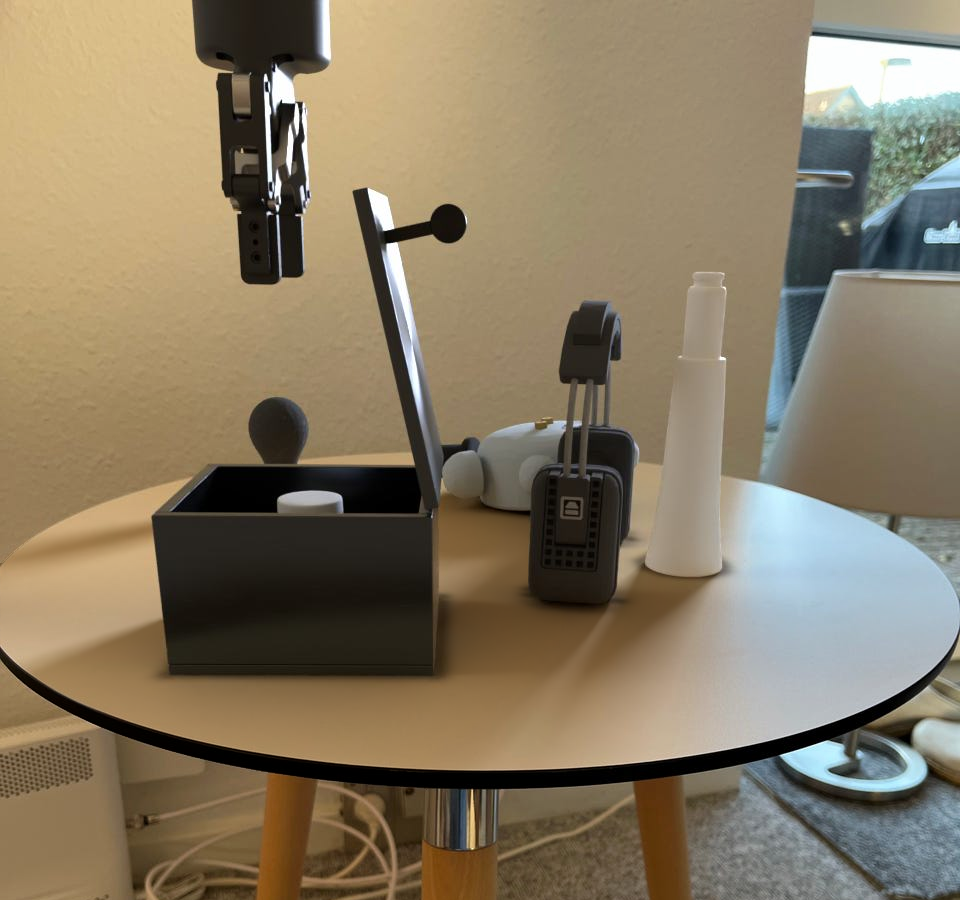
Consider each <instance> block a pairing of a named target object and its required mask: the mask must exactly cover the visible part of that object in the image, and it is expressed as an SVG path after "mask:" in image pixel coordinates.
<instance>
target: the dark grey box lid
mask: <svg viewBox="0 0 960 900" xmlns="http://www.w3.org/2000/svg"><path fill="white" fill-rule="evenodd" d="M352 197H353V202H354V205H355V206H354V207H355V210H356V215H357V218H358V223H359V227H360V232H361V236H362V240H363V241H362V242H363V245H364V250H365V254H366V258H367V262H368V267H369V272H370V275H371V280H372V285H373V288H374V293H375V298H376V302H377V307H378V311H379V315H380V319H381V324H382V327H383V332H384V336H385V341H386V345H387V348H388V349H387V351H388V354H389V359H390V363H391V367H392V372H393V376H394V381H395V386H396V390H397V393H398V398H399V402H400V407H401V411H402V415H403V419H404V420H403V421H404V424H405V428H406V433H407V437H408V442H409V446H410V450H411V454H412V459H413V465H415V468H416V473H417V477H418V481H419V486H420V490H421V494H422V499H423V503H424V507H425V510H430V509H435V508H438V509H439V507H440V498H441V491H442V490H441V489H442V480H443V478H442V469H443V458H444V455H443V451H442V446H441V445H442V441H441V438H440V433H439V428H438V424H437V419H436V414H435V409H434V405H433V400H432V396H431V392H430V391H431V390H430V388H429V382H428V377H427V373H426V369H425V364H424V358H423V354H422V349H421V344H420V340H419V336H418V331H417V327H416V323H415V318H414V313H413V308H412V304H411V299H410V296H409V290H408V285H407V281H406V276H405V271H404V268H403V263H402V257H401V254H400V249H399V245H398V243H401V242H404V241H409V240H414V239H419V238H424V237H428V236H433V237H434V238H435V239H436V240H437V241H439V242H440V243H442V244H448V245H449V244H454V243H456V242H459V241H460V240H461V239H462V238H463V236H464V235H465V234H466V231H467V227H468V220H467V216H466V214H465V212H464V211H463V210H462V209H461V208H460V206H457V205H456V204H453V203H443V204H441V205H439V206H437V207H436V208H435V209H434V210H433V211H432V213H431V215H430V217H429V218H430V219H429V220H426V221H421V222H418V223H413V224H407V225H404V226H400V227H395V225H394V220H393V217H392V211H391V207H390V202H389V198H388V196H387V195H385V194H383V193H381V192H379V191H377V190H374V189H371V188H369V187H366V186H365V187H362V188H357V189H353V190H352Z"/></svg>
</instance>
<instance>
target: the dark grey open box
mask: <svg viewBox="0 0 960 900" xmlns="http://www.w3.org/2000/svg"><path fill="white" fill-rule="evenodd" d="M301 491H327V492H333V493H337V494H339V495H340V496H341V497H342V502H343V512H344V513H278V507H277V500H278V498H279V497H280V496H282V495H285V494H289V493H293V492H301ZM150 518H151V526H152V527H151V529H152V535H153V536H152V537H153V545H154V553H155V563H156V571H157V578H158V588H159V596H160V605H161V615H162V622H163V630H164V631H163V632H164V640H165V649H166V657H167V664H168V665H167V667H168V674H169V676H316V677H317V676H321V677H324V676H325V677H326V676H330V677H332V676H335V677H337V676H338V677H339V676H340V677H343V676H345V677H346V676H347V677H348V676H349V677H350V676H351V677H352V676H353V677H354V676H355V677H359V676H360V677H366V676H367V677H368V676H369V677H384V676H385V677H402V676H403V677H433V676H434V674H435V663H436V662H435V660H436V648H437V647H436V646H437V634H438V633H437V632H438V617H439V606H440V605H439V604H440V556H439V554H440V536H439V535H440V534H439V533H440V530H439V529H440V528H439V527H440V524H439V507H438V508H435V509H430V510H425V507H424V503H423V499H422V494H421V490H420V486H419V481H418V477H417V473H416V468H415V464H351V463H350V464H347V463H346V464H343V463H342V464H341V463H338V464H337V463H336V464H333V463H331V464H330V463H329V464H328V463H327V464H326V463H323V464H322V463H321V464H320V463H319V464H318V463H308V464H307V463H297V464H264V463H207V464H206V465H205V466H204V467H203V468H202V469H200V471H198V473H196V474H195V475H193V477H192V478H191V479H190V480H188V481H187V482H186V483H185V484H184V485H183V486H182V487H181V488H180V489H178V491H176V492H175V493H174V494H173V495H172V496H171V497H170V498H169V499H168V500H166V501H165V502H164V503H163V504H162V505H161V506H160V507H159V508H158V509H157V510H156V511H154V513H152V515H151V517H150Z"/></svg>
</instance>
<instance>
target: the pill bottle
mask: <svg viewBox="0 0 960 900" xmlns="http://www.w3.org/2000/svg"><path fill="white" fill-rule="evenodd" d="M277 507H278V513H344V512H343V502H342V497H341V496H340V495H339V494H337V493H333V492H327V491H301V492H293V493H289V494H285V495H282V496H280V497H279V498H278V500H277Z"/></svg>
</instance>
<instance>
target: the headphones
mask: <svg viewBox="0 0 960 900" xmlns="http://www.w3.org/2000/svg"><path fill="white" fill-rule="evenodd" d="M622 328H623V327H622V317H621V314H620V312H619V311H614V309H613V304H612V302H611V301H610V300H583V301H582V302H581V304H580V306H579V308H578V310H573V311H572V312H571V314H570V317H569V319H568V321H567V325H566V329H565V333H564V339H563V343H562V347H561V353H560V360H559V367H558V377H559V382H560V383H561V384H564V385H569V393H568V401H567V402H568V403H567V412H566V420H565V421H566V431H565V432H564V433H563V435H562V437H561V438H560V441H559V445H558V456H557V464H549V465H545V466H543V467H542V468H540V470H539V471H538V472H537V474H536V476H535V478H534V479H533V484H532V488H531V510H530V516H529V517H530V520H529V542H528V543H529V544H528V565H527V566H528V569H527V584H528V590H529V593H530V594H531V596H532V597H534V598H536V599H538V600H543V601H549V602H561V603H574V604H587V605H598V604H605V603H606V602H608V601H609V600H611V599H612V598H613V597H614V596H615V594H616V590H617V587H618V576H619V575H618V574H619V563H620V562H619V561H620V544H621V542H624V540H626V538H627V537H628V535H629V533H630V530H631V516H632V500H633V487H634V486H633V485H634V474H635V473H634V472H635V467H634V459H635V444H634V442H635V439H634V436H633V435H632V433H630V432H629V431H628V430H626V429H624V428H622V427H620V426H614V424H612V423H610V412H611V389H612V387H611V386H612V362H619V361H620V360H621V359H622V353H623V331H622V330H623V329H622ZM578 385H585V389H584V398H583V407H582V416H581V417H582V418H581V422H582V425H579V426H577V427H573V423H574V421H575V413H576V402H577V394H578V393H577V392H578ZM599 386H604V398H603V399H604V403H603V422H601V423H600V422H599V423H598V406H599ZM590 416H591V418H590ZM590 419H591V420H590ZM589 423H590V424H589Z"/></svg>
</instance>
